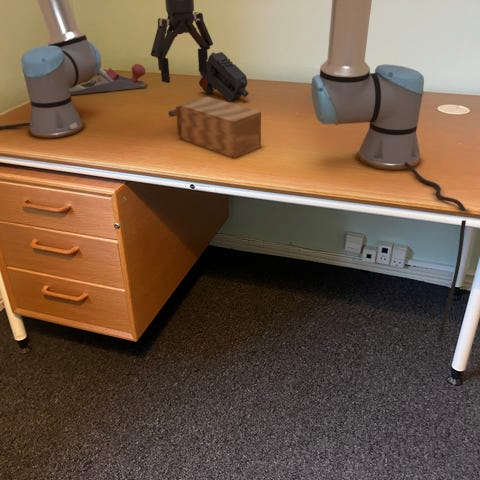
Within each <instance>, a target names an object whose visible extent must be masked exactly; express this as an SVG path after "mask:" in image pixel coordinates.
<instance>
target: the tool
mask: <svg viewBox="0 0 480 480" xmlns="http://www.w3.org/2000/svg"><path fill="white" fill-rule="evenodd" d="M224 53H225V52H223V51H220V52H217V53H216V52H211V53H210V55H208V60H206V63H207V73H201V72H199V74H200V76H201V78H200V80H199V82H198V85H199V86H200V88H201V89H202V90H203V92H204V93H205V94H206V95H210V94H213V93H214V92H215V91H217V92H218V93H219V94H220V95H222V96H223V97H224V99H226V100H227V102H230V101H234V100H236V99H239V98H241V97H244V98H246V97H247V96H248V95H249V92H248V91H247V90H246V88H247V86H248V78H247V75H246V74H245V73H244V72H243V70H241V69H240V68H239V67H238V66H237V65H236V64H235V63H234V62H233V61H231V59H230V58H228V56H227V55H226V54H224Z"/></svg>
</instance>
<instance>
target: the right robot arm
mask: <svg viewBox="0 0 480 480" xmlns="http://www.w3.org/2000/svg"><path fill="white" fill-rule="evenodd" d="M372 2H373V0H331V10H330V21H329V23H330V24H329V36H328V47H327V58H326V60H325V61H324V62H323V63H322V64H321V65H320V68H319V74H316V75H314V76H312V78H311V84H310V85H311V87H310V88H311V100H312V106H313V111H314V114H315V116H316V119H317V120H318V122H319V123H321V124H323V125H336V126H339V125H347V124H349V125H350V124H362V123H363V124H364V123H365V124H366V123H369V126H368V130H367V132H366V135H364V136H365V137H364V138H363V141H362V143H361V145H360V147H359V151H358V159H359V160H360V162H362V163H363V164H364V165H367V166H369V167H372V168H374V169H378V170H385V171H403V170H409V171H411V172H412V174H414V176H415V177H416V178H417V179H418V180H419V181H420V182H422V183H424V184H426V185H429V186H432V187H434V188H435V189H436V192H435V195H436V197H437V198H438V199H439V200H442V201H444V202H451V203H453V204H456V205H457V206H458V207H459V210H460V211H462V212H466V211H467V210H466V208H465V206H464V204H463V202H461V201H460V200H458V199H457V198H454V197H448V196H444V195H442V194H441V191H442V189H441V186H440V185H439V184H438V183H436V182H433V181H431V180H428V179H426V178H424V177H423V176H421V174H420V173H419V172H418V171H417V170H416V169H415V168H414V167H416V166H418V164H419V163H420V158H421V153H420V151H421V150H420V146H419V140H418V135H417V130H418V124H419V119H420V111H421V108H422V107H421V106H422V101H423V96H424V85H425V77H424V75H423V74H422V73H421V72H420V71H418V70H416V69H413V68H411V67H406V66H402V65H396V64H395V65H394V64H379V65H377V66H376V68H375V69H374V72H372V73H371V67H370V66H369V65H368V63H367V62H366V53H367V52H366V51H367V44H368V35H369V27H370V20H371V19H370V18H371V9H372ZM466 224H467V220H465V219H464V220H461V224H460V230H459V240H458V250H457V256H456V263H455V268H454V272H453V277H452V281H451V285H450V289H449V293H448V298H447V302H446V305H445V309H444V313H443V316H442V321H441V324H440V328H439V333H438V337H437V341H438V342H442V340H443V336H444V331H445V327H446V322H447V320H448V319H447V318H448V315H449V311H450V308H451V304H452V300H453V298H454V293H455V289H456V285H457V281H458V276H459V272H460V267H461V262H462V256H463V249H464V240H465V230H466Z"/></svg>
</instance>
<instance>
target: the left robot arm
mask: <svg viewBox="0 0 480 480" xmlns="http://www.w3.org/2000/svg"><path fill="white" fill-rule="evenodd" d="M36 1H37V5H38V6H39V9H40V12H41V15H42V18H43V20H44V23H45V25H46V28H47V31H48V34H49V39H48V41H47V45H42V46H40V47H39V46H38V47H34V48H31V49H29V50H27V51H25V52H24V53H23V54H22V56H21V59H20V60H21V61H20V62H21V67H22V69H21V70H22V74H23V78H24V81H25V86H26V89H27V93H28V97H29V102H30V106H31V110H30V120H29V122H21V123H15V124H6V125H0V130H4V129H13V128H21V127H29V130H30V134H31V135H32V136H34V137H36V138H40V139H59V138H64V137H69V136H71V135H74V134H75V135H76V134H77V133H79V132H80V131H81V130H83V128H84V125H83V120H82V118H81V117H80V115H79V112H78V111H77V109H76V107H75V105H74V103H73V99H72V95H71V94H70V88H72V87H75V86H77V85H81V84H85V83H89V82H90V80H92V79H94V78H95V77H97V74H98V72H99V70H100V68H102V57H101V53H100V51H99V49H98V47H97V46H96V45H94V43H93V42H92V41H89V40H88V37H87V34H86V33H85V32H83V31H81V30H80V29H79V27H78V24H77V21H76V18H75V15H74V12H73V9H72V7H71V6H72V5H71V3H70V1H69V0H36ZM164 1H165V11H166V13H167V17H166V18H161V17H159V18H158V19H157V28H156V33H155V37H154V39H153V43H152V47H151V52H150V56H151V57H153V58H157V65H158V70H159V71H160V75H161V82H163V83H166V84H170V83H171V78H170V65H169V58H168V57H167V55H168V53H169V51H170V49H171V47H172V45H173V43H174V41H175V39H176V38H177V37H178V36H179V35H183V34H184V33H185V34H188V35H190V37H191V38H192V39H193V40H194V41H195V43H196V44H197V46H198V47H199V48H197V61H198V62H197V63H198V72H199V73H200V72H201V73H207V63H206V61H208V58H209V50H210V49H211V47H212V46H213V45H214V42H213V39H212V37H211V34H210V33H209V30H208V27H207V25H206V24H205V21H204V14H203V12H197V11H195V0H164ZM194 23H195V25H194Z"/></svg>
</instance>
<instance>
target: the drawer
mask: <svg viewBox="0 0 480 480" xmlns="http://www.w3.org/2000/svg"><path fill="white" fill-rule="evenodd" d="M179 105H180V104H178V105H175V109H170V110H169V111H168V113H167V114H168V117H170V118H171V117H172V118H173V117H176V123H177V124H176V125H177V134H178V135H181V123H180V111H179Z"/></svg>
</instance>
